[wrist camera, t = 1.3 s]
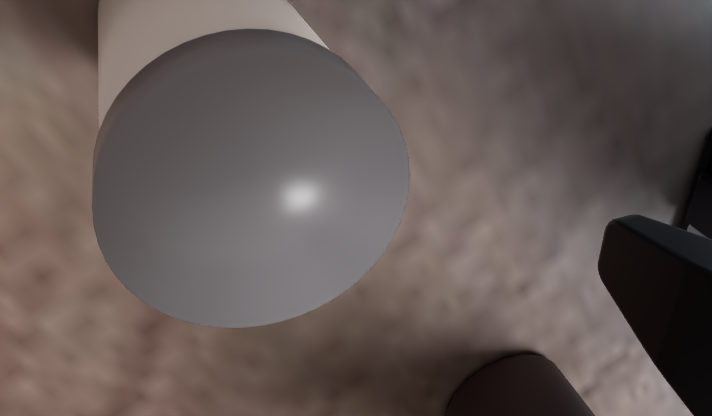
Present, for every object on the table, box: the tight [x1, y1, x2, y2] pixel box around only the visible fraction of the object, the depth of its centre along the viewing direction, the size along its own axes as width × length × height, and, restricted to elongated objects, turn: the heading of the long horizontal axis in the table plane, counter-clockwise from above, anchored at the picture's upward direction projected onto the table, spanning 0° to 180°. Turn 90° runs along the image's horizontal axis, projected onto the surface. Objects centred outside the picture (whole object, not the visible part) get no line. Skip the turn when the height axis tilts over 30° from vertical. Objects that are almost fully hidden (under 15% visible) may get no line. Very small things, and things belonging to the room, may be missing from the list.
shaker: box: [92, 0, 410, 328], centre depth 15 cm, size 5×5×10 cm
